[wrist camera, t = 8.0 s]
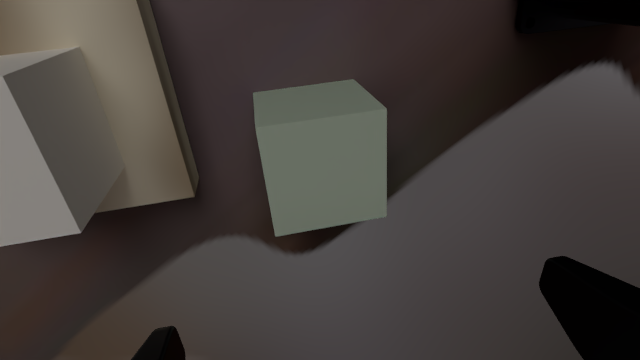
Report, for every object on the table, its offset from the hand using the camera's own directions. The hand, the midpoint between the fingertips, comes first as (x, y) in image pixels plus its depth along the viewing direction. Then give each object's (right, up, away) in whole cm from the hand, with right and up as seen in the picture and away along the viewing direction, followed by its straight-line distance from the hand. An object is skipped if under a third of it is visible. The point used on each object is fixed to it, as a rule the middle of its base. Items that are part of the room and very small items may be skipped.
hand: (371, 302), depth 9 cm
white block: (-12, +5, +6) cm, 15 cm away
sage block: (-2, +5, +10) cm, 12 cm away
